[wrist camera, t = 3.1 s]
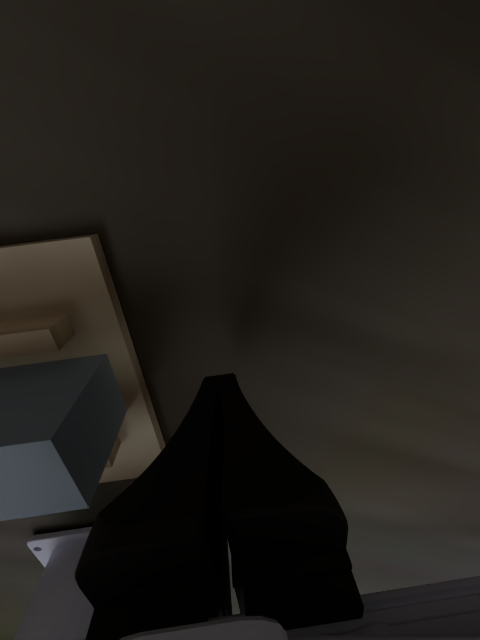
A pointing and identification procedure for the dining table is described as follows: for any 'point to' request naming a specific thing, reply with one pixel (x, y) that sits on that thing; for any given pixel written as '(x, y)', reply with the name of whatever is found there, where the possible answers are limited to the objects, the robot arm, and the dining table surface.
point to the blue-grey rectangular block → (56, 434)
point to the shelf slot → (76, 332)
